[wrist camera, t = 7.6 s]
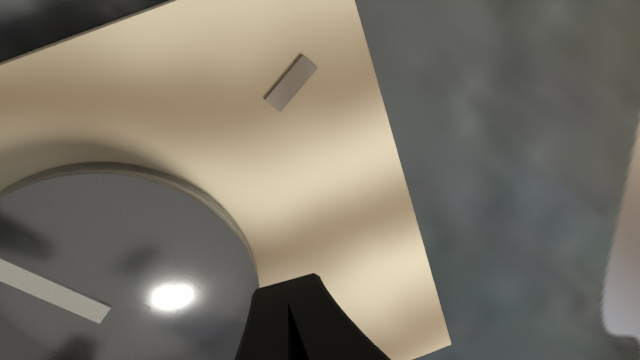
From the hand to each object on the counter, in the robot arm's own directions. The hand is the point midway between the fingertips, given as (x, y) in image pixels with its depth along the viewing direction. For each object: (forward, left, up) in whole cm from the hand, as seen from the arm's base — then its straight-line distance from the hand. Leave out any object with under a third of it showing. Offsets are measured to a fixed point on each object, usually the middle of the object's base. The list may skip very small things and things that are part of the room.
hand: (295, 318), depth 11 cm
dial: (-2, +8, -9) cm, 12 cm away
